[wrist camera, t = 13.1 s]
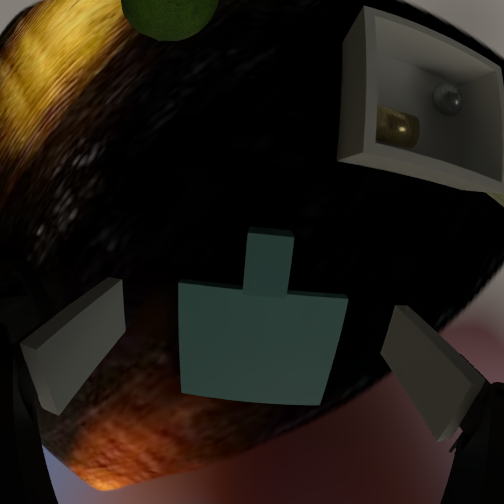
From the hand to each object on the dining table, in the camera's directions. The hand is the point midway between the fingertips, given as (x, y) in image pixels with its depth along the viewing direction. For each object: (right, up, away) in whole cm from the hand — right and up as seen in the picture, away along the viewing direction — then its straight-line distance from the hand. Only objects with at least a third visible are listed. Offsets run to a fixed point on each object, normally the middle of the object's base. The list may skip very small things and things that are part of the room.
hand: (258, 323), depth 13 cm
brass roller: (+11, +15, +9) cm, 21 cm away
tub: (+14, +16, +9) cm, 23 cm away
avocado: (-7, +25, +8) cm, 27 cm away
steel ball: (+18, +18, +8) cm, 26 cm away
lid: (0, -3, +14) cm, 14 cm away
